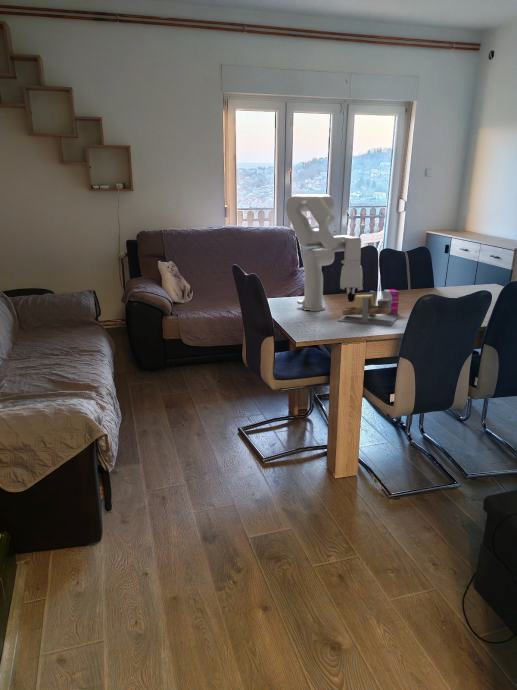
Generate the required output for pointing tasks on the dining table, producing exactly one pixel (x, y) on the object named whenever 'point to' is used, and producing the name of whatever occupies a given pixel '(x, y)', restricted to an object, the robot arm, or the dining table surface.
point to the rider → (360, 301)
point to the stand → (368, 316)
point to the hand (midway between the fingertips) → (351, 301)
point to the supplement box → (392, 299)
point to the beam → (382, 308)
